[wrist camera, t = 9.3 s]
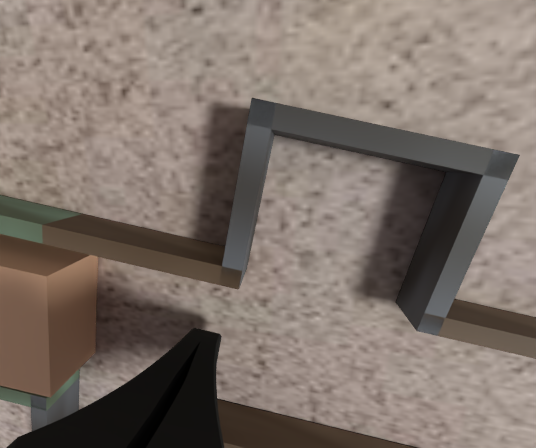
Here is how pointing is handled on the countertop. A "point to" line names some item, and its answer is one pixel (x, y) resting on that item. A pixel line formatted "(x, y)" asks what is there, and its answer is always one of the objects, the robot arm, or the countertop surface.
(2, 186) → the countertop surface
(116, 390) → the robot arm
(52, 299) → the light orange-tan block
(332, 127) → the box
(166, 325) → the countertop surface
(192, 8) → the countertop surface
